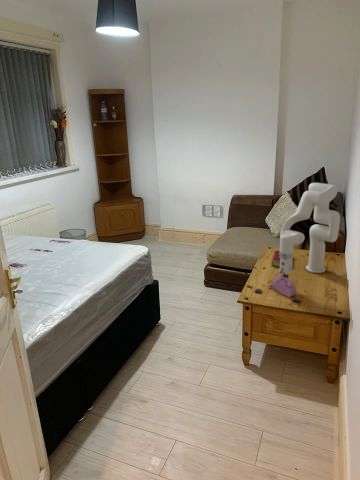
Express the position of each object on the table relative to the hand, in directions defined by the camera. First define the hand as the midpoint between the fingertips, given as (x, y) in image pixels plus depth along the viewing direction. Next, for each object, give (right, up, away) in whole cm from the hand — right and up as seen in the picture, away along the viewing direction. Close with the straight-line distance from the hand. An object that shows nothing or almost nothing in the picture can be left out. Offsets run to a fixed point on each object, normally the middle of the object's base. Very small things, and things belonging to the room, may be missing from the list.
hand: (284, 282), depth 218 cm
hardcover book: (+9, +10, +40) cm, 42 cm away
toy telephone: (-3, -5, -2) cm, 6 cm away
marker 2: (+2, -9, -14) cm, 17 cm away
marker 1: (-16, -6, -1) cm, 18 cm away
